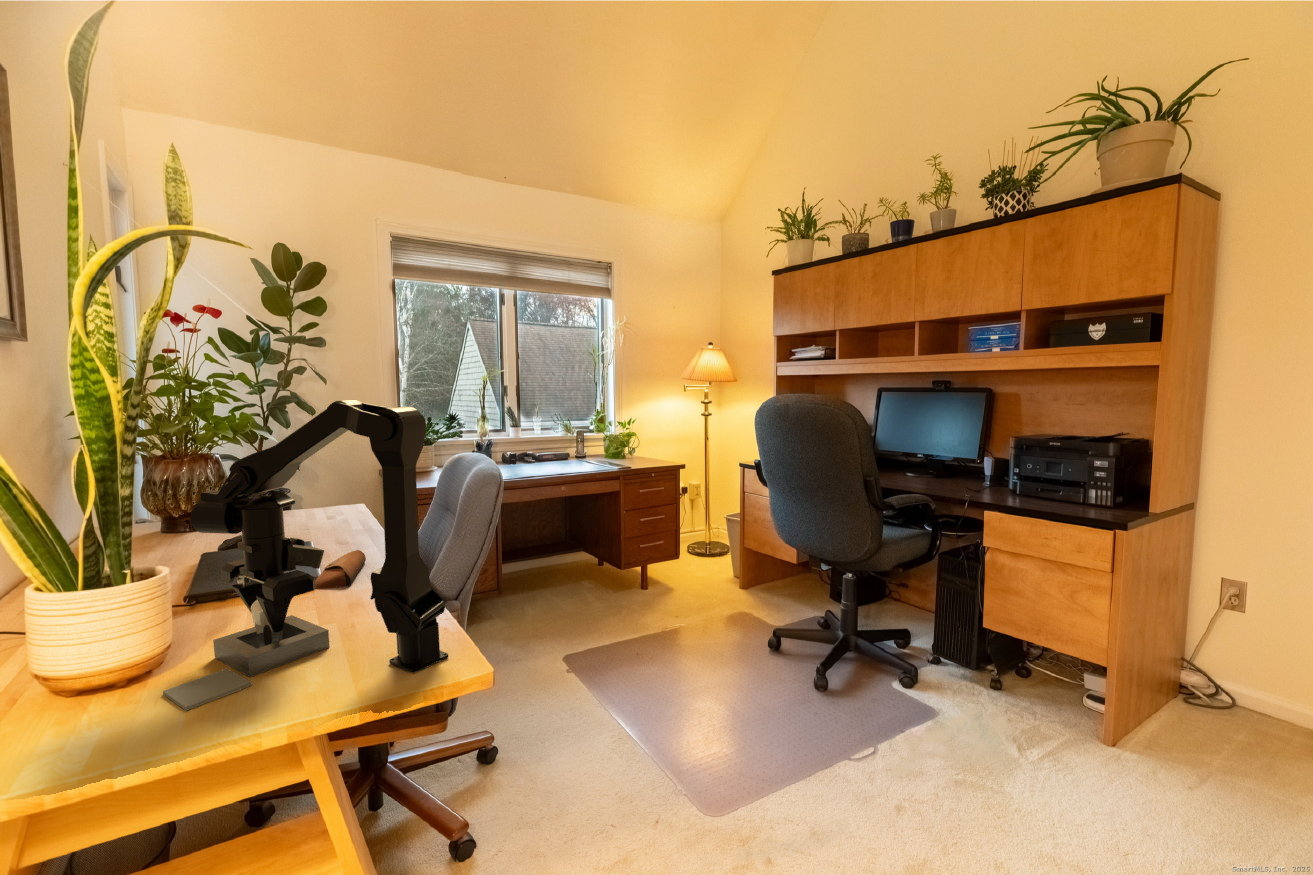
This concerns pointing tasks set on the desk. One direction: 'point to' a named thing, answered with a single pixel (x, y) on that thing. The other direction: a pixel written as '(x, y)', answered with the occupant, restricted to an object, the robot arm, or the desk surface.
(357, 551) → the sunglasses case
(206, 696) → the pad
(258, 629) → the milkshake
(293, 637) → the collar
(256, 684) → the desk surface
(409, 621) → the robot arm
